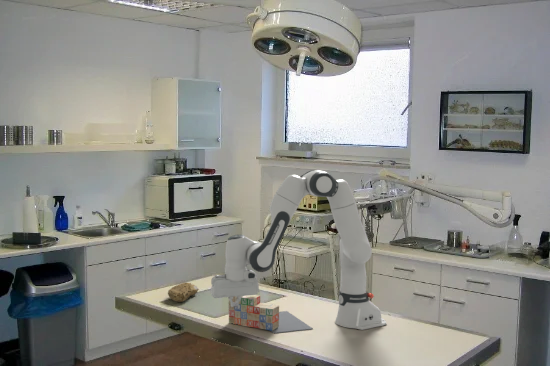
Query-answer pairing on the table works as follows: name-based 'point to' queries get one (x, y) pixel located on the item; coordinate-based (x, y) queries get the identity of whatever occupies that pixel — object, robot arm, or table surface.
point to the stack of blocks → (254, 313)
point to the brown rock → (182, 291)
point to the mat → (290, 323)
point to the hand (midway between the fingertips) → (234, 306)
